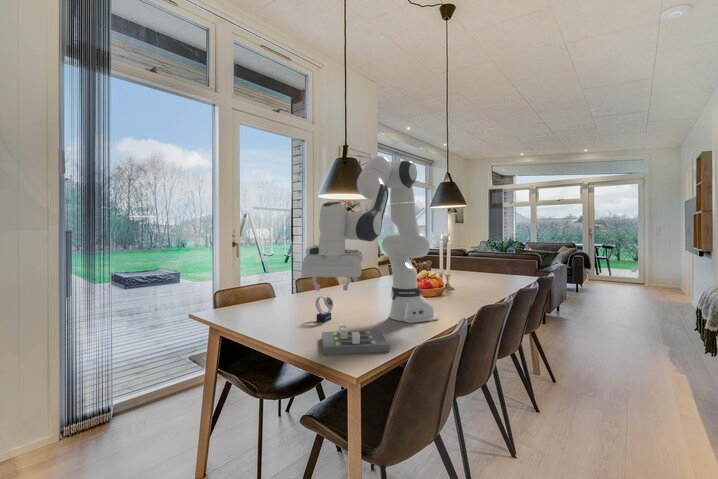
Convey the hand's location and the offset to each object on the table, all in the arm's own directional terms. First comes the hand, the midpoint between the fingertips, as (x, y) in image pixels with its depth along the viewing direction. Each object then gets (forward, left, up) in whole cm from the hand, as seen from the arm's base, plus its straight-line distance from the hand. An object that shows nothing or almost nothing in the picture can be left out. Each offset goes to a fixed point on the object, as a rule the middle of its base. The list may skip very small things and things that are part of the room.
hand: (331, 290), depth 121 cm
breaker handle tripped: (-8, +1, -18) cm, 20 cm away
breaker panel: (-8, -5, -21) cm, 23 cm away
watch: (+1, -39, -21) cm, 44 cm away
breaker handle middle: (-5, -5, -18) cm, 19 cm away
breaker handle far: (-5, -10, -18) cm, 21 cm away
